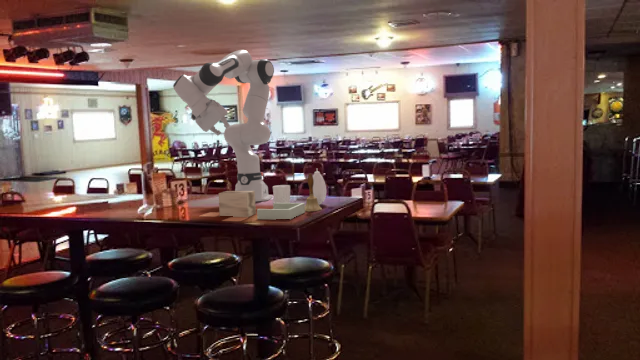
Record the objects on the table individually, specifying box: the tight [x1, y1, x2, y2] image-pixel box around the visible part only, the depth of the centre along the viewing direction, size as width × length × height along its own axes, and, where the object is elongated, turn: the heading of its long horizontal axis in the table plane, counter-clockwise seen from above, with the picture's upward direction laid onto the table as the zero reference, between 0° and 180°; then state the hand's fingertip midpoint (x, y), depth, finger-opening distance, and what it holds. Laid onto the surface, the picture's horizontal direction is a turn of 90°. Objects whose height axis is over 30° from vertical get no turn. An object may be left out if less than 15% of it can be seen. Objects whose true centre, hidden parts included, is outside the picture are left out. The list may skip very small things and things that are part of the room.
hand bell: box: [305, 173, 323, 212], centre depth 240 cm, size 8×8×16 cm
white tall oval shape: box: [308, 169, 327, 206], centre depth 255 cm, size 8×8×18 cm
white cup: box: [272, 184, 291, 203], centre depth 250 cm, size 8×8×10 cm
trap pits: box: [198, 211, 250, 222], centre depth 231 cm, size 20×24×1 cm
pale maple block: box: [218, 190, 257, 217], centre depth 234 cm, size 8×13×10 cm, turn 73°
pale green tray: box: [256, 202, 306, 220], centre depth 228 cm, size 18×14×4 cm
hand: (223, 130), depth 246 cm, fingers open, 8 cm apart
